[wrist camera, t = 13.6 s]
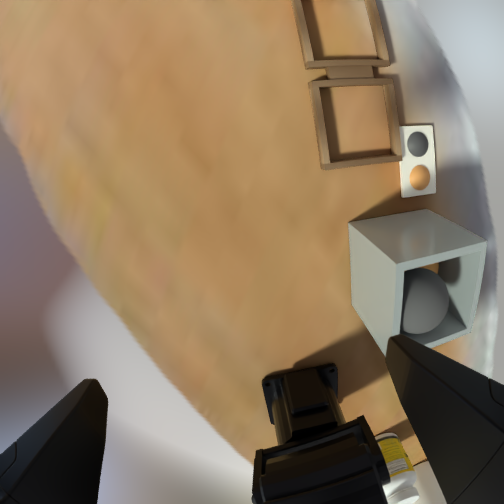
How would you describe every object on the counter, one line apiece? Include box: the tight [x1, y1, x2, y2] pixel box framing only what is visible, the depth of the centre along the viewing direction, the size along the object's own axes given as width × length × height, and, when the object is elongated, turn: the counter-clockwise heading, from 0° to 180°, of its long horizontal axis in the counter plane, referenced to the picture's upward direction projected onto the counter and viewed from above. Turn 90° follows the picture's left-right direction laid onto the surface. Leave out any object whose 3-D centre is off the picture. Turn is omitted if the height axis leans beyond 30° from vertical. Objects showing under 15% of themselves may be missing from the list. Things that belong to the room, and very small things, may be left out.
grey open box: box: [348, 209, 487, 356], centre depth 19 cm, size 7×7×7 cm
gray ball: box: [400, 268, 449, 334], centre depth 17 cm, size 4×4×4 cm
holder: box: [291, 0, 402, 170], centre depth 17 cm, size 12×6×1 cm, turn 10°
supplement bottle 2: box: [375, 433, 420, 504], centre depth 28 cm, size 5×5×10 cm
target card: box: [399, 125, 436, 198], centre depth 20 cm, size 5×3×1 cm, turn 10°
